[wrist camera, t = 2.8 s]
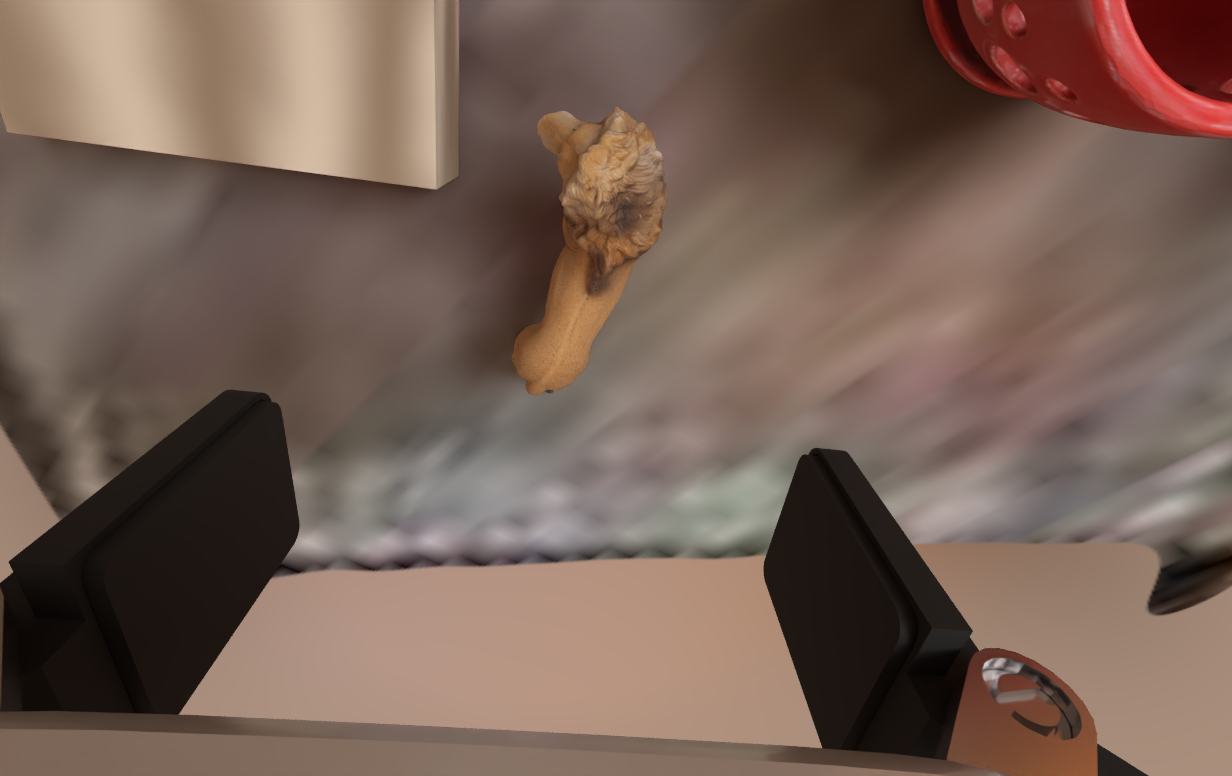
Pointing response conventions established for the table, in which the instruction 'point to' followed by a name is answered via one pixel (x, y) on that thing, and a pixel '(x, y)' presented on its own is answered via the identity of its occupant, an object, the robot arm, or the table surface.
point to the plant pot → (1099, 58)
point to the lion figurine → (592, 238)
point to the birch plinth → (243, 81)
